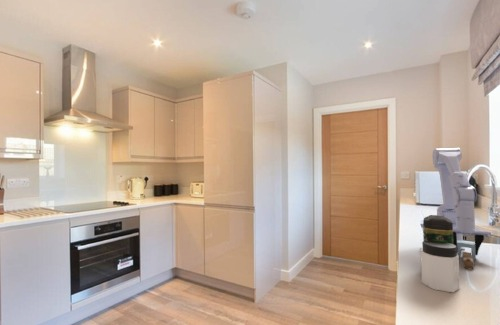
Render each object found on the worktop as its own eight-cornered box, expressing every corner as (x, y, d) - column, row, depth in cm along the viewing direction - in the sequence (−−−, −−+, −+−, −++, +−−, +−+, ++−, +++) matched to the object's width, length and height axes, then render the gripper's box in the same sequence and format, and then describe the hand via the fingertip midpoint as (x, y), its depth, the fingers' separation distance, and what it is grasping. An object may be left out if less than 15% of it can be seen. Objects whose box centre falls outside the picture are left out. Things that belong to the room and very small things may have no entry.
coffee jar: (423, 266, 90) (422, 212, 91) (452, 271, 86) (450, 214, 86) (424, 275, 82) (423, 217, 82) (456, 281, 77) (454, 219, 78)
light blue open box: (457, 253, 103) (457, 240, 104) (474, 256, 100) (474, 242, 100) (457, 257, 99) (457, 242, 100) (475, 260, 96) (475, 245, 96)
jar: (451, 295, 69) (449, 250, 69) (417, 284, 76) (416, 243, 76) (463, 287, 74) (462, 244, 74) (431, 277, 80) (430, 238, 81)
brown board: (462, 258, 98) (462, 250, 98) (471, 259, 96) (470, 251, 96) (464, 268, 88) (464, 259, 88) (473, 269, 87) (473, 260, 87)
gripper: (441, 217, 102) (442, 252, 101) (491, 221, 93) (493, 259, 92) (441, 215, 107) (442, 247, 107) (489, 218, 98) (490, 254, 98)
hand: (466, 253), depth 100 cm, fingers closed on light blue open box, 5 cm apart
